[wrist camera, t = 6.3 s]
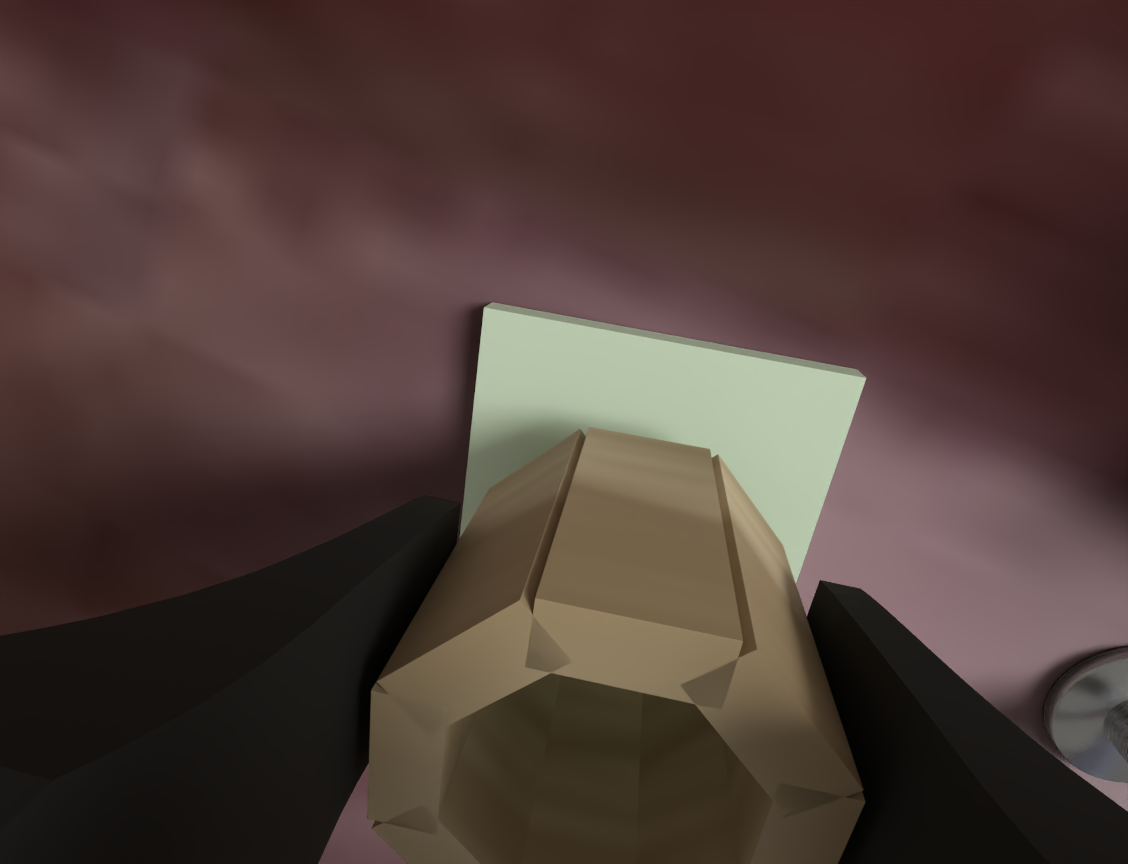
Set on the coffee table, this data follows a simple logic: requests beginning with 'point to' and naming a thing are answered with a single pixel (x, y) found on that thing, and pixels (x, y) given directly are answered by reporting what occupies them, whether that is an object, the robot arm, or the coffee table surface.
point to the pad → (661, 408)
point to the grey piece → (1092, 715)
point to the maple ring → (612, 679)
